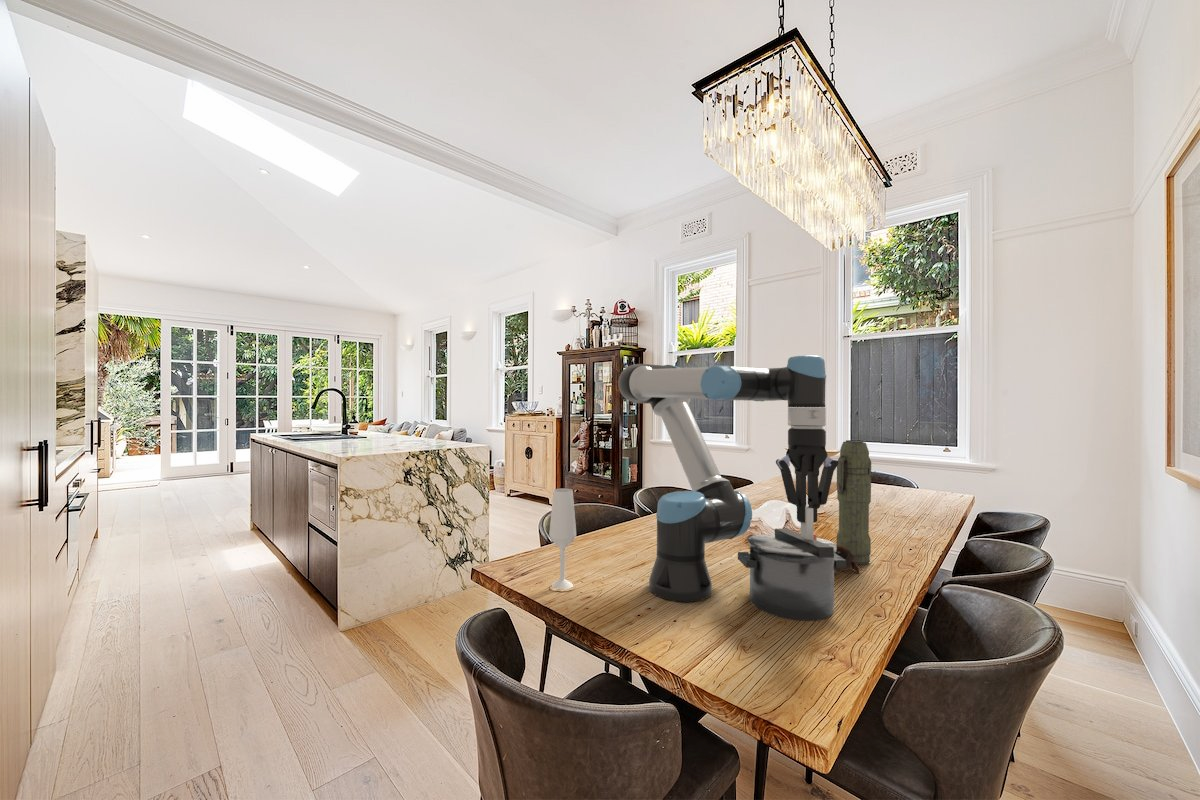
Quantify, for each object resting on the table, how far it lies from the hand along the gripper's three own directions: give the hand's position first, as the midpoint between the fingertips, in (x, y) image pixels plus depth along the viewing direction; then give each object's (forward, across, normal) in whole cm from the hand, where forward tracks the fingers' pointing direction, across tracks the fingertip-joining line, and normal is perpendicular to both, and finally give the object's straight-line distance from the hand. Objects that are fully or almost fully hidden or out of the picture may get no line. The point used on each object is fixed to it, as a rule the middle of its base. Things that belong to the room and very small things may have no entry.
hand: (807, 537), depth 104 cm
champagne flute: (+17, -53, +18) cm, 59 cm away
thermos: (+17, +32, +38) cm, 52 cm away
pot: (+17, 0, +9) cm, 20 cm away
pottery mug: (+17, +22, +28) cm, 40 cm away
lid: (+4, 0, +4) cm, 6 cm away
